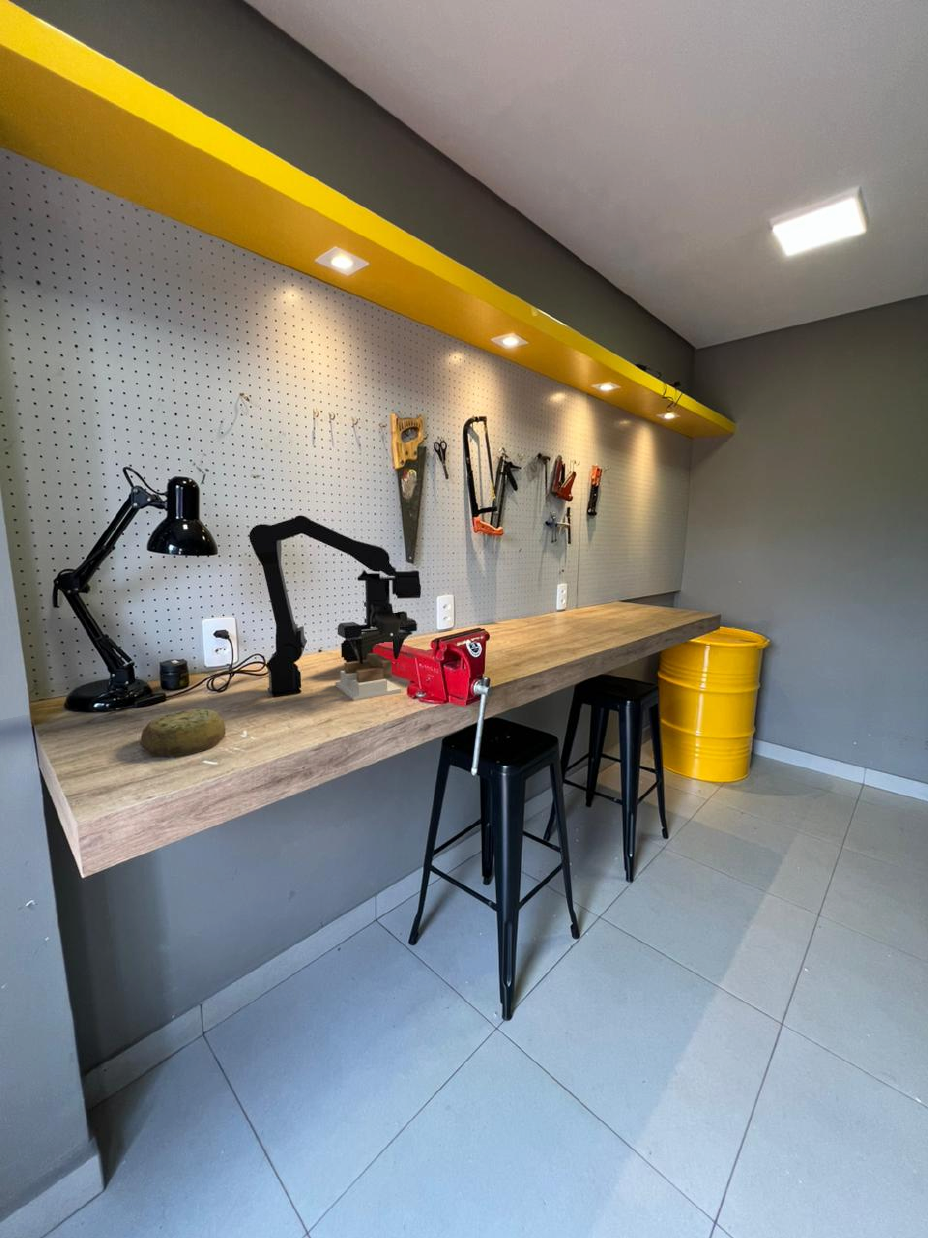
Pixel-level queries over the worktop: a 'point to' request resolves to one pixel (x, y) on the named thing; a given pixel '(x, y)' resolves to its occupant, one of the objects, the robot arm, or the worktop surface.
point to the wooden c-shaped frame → (365, 687)
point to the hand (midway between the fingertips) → (378, 661)
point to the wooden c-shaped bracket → (370, 668)
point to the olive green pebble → (183, 732)
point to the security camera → (364, 645)
